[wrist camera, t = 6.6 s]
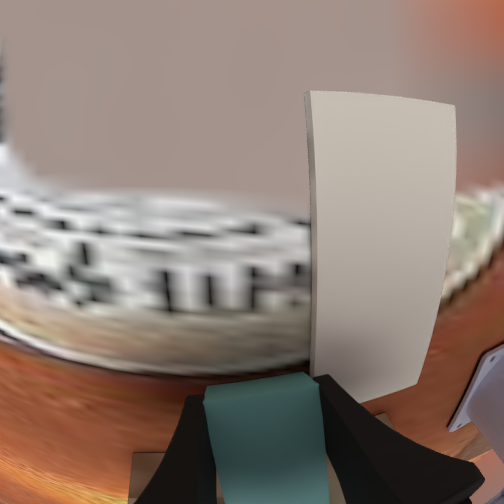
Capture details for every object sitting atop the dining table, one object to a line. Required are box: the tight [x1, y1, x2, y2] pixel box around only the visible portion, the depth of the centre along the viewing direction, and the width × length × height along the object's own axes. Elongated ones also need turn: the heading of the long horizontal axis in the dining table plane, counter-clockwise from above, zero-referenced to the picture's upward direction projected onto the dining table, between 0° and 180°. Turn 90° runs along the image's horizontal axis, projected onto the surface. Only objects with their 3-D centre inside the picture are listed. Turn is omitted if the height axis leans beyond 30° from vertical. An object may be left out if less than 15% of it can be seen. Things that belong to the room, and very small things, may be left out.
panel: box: [304, 91, 456, 403], centre depth 11 cm, size 6×13×1 cm, turn 5°
